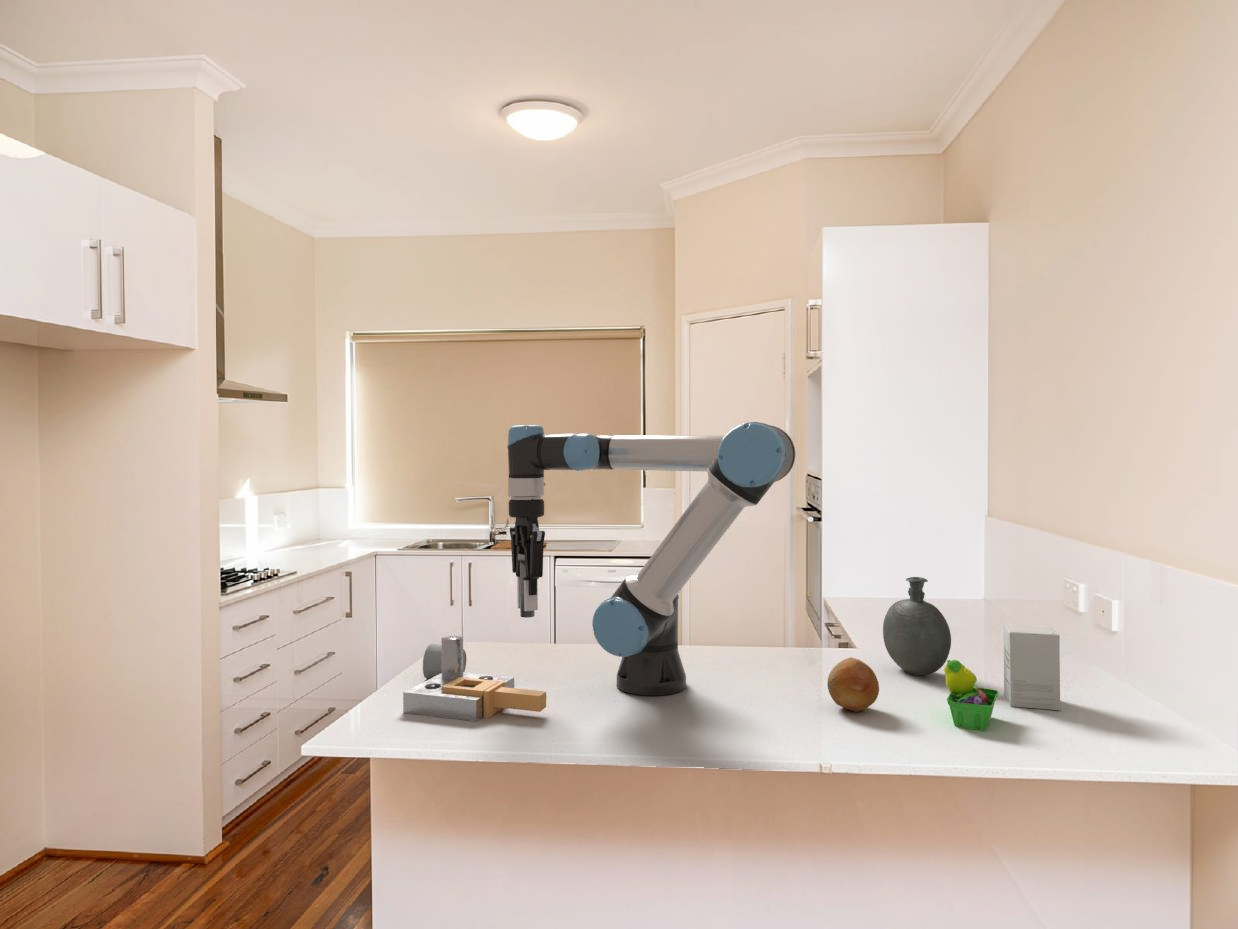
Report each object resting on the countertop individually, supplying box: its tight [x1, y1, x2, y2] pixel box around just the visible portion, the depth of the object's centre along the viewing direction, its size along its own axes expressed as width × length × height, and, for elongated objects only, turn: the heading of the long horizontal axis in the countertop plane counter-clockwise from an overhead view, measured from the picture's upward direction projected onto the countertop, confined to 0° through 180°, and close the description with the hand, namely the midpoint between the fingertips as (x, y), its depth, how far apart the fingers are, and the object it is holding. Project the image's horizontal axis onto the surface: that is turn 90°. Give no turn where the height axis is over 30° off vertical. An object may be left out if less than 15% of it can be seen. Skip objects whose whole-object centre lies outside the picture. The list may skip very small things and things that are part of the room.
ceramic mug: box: [422, 643, 467, 680], centre depth 175 cm, size 11×8×8 cm
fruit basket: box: [943, 659, 999, 732], centre depth 145 cm, size 11×9×11 cm
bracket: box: [442, 677, 547, 718], centre depth 151 cm, size 20×7×5 cm, turn 71°
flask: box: [882, 576, 952, 676], centre depth 177 cm, size 12×17×22 cm
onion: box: [827, 657, 880, 713], centre depth 152 cm, size 10×10×10 cm
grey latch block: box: [402, 635, 515, 722], centre depth 156 cm, size 16×16×12 cm
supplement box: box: [1003, 623, 1061, 711], centre depth 156 cm, size 9×9×15 cm
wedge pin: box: [518, 553, 536, 618], centre depth 164 cm, size 4×4×13 cm
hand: (527, 608), depth 164 cm, fingers closed on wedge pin, 3 cm apart
